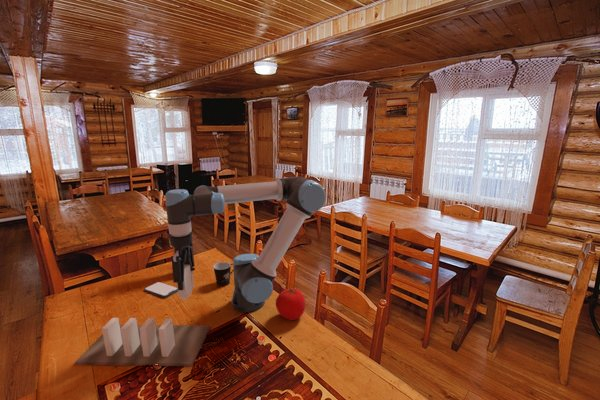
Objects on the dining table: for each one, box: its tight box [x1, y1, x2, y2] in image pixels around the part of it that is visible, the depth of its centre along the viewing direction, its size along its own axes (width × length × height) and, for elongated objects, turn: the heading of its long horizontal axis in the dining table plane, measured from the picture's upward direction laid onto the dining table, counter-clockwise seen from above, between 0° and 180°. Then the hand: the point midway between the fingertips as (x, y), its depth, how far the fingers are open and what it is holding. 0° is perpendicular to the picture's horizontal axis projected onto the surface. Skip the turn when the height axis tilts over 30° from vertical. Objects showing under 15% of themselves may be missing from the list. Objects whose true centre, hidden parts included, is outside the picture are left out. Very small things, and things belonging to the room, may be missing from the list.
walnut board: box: [74, 324, 211, 367], centre depth 112 cm, size 40×20×1 cm, turn 89°
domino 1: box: [101, 317, 123, 356], centre depth 107 cm, size 2×6×11 cm, turn 179°
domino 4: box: [158, 317, 175, 357], centre depth 106 cm, size 2×6×11 cm, turn 179°
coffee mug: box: [212, 261, 234, 287], centre depth 155 cm, size 12×9×10 cm
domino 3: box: [140, 317, 158, 357], centre depth 106 cm, size 2×6×11 cm, turn 179°
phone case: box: [144, 281, 178, 299], centre depth 149 cm, size 9×2×16 cm
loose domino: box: [180, 265, 193, 301], centre depth 111 cm, size 2×6×11 cm, turn 178°
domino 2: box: [121, 317, 140, 356], centre depth 106 cm, size 2×6×11 cm, turn 179°
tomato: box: [275, 287, 306, 321], centre depth 127 cm, size 12×12×13 cm
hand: (186, 291), depth 112 cm, fingers closed on loose domino, 6 cm apart
